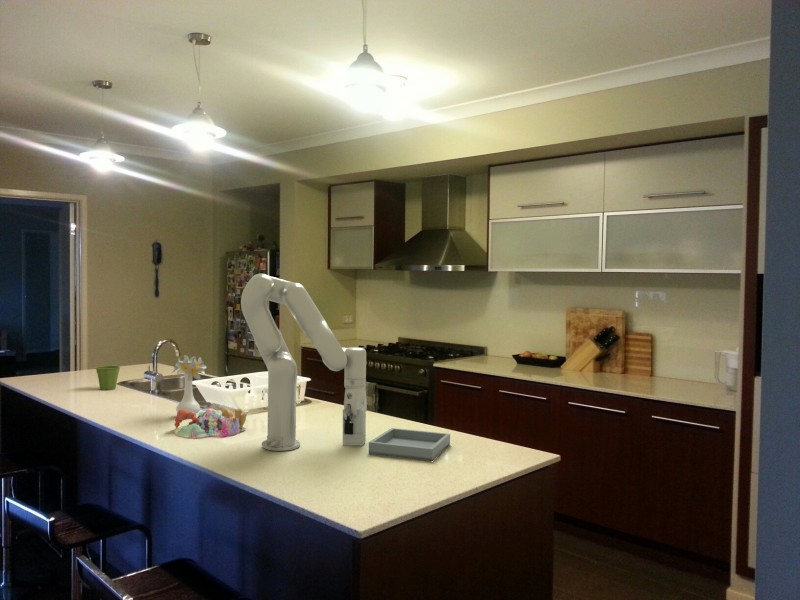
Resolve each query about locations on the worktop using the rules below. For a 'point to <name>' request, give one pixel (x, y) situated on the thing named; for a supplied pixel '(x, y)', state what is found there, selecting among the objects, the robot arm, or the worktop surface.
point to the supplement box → (356, 430)
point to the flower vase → (189, 382)
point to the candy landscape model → (210, 423)
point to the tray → (409, 444)
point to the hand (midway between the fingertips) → (354, 431)
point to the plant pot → (107, 376)
